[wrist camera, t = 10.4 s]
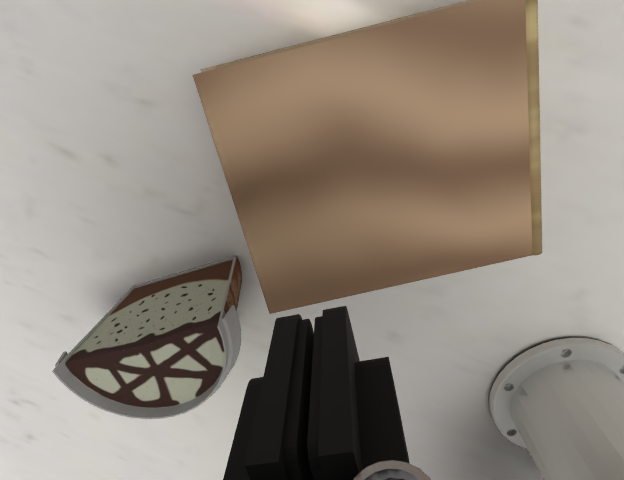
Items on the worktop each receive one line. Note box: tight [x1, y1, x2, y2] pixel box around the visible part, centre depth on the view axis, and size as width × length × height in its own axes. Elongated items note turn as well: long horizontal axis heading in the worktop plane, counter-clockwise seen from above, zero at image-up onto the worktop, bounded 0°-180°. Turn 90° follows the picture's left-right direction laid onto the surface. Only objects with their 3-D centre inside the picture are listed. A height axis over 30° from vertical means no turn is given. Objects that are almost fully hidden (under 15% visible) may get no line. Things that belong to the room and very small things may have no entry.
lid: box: [193, 0, 542, 314], centre depth 22 cm, size 14×16×1 cm
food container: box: [52, 256, 242, 419], centre depth 31 cm, size 12×6×10 cm, turn 108°
